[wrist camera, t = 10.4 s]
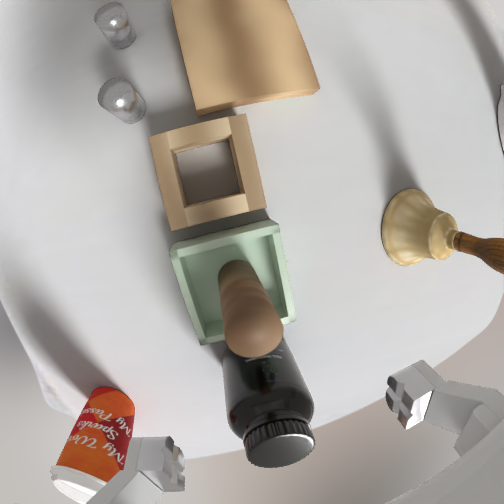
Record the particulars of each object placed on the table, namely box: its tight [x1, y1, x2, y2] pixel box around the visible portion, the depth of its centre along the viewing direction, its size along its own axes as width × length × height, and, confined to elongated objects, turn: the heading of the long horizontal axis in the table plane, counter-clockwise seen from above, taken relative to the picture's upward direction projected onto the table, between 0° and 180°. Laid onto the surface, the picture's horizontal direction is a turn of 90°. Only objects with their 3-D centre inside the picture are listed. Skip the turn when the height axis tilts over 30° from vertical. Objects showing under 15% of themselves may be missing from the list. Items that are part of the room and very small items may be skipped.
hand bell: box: [382, 188, 504, 274], centre depth 18 cm, size 8×8×16 cm
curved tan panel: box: [170, 0, 320, 116], centre depth 18 cm, size 10×12×2 cm
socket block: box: [149, 113, 267, 231], centre depth 20 cm, size 7×7×3 cm
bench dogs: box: [94, 2, 146, 124], centre depth 15 cm, size 2×10×5 cm, turn 12°
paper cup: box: [50, 387, 135, 504], centre depth 18 cm, size 8×8×14 cm
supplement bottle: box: [223, 339, 315, 468], centre depth 20 cm, size 7×7×12 cm
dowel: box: [218, 260, 283, 358], centre depth 19 cm, size 3×3×9 cm
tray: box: [169, 219, 296, 345], centre depth 22 cm, size 8×8×3 cm
